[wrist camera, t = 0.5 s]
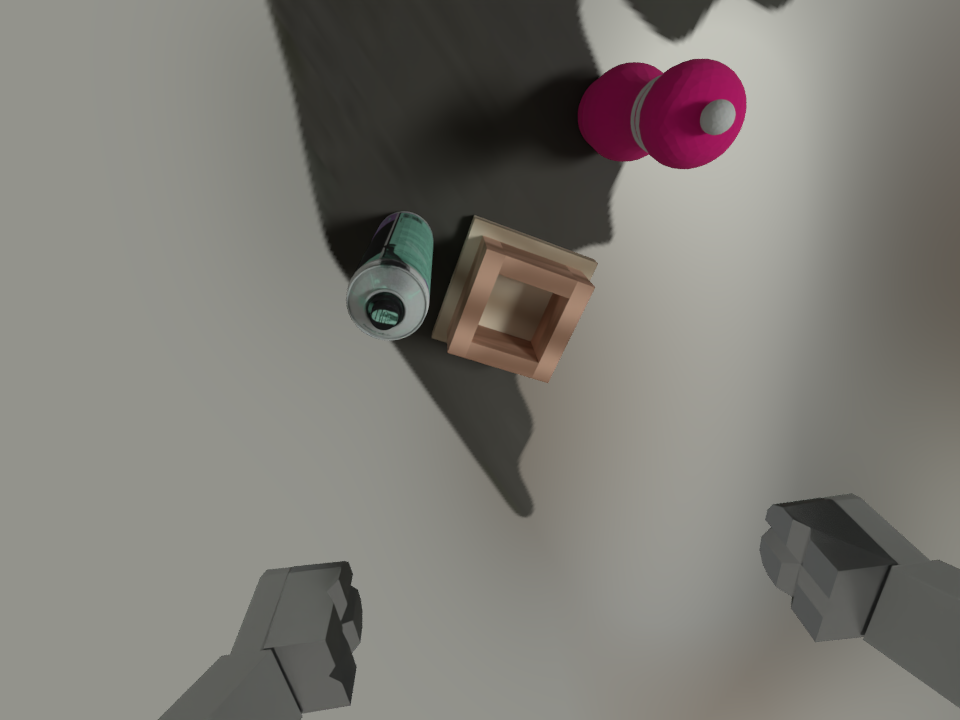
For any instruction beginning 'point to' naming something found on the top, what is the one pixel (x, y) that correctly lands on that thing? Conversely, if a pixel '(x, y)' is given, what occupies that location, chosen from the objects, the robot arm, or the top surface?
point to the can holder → (513, 300)
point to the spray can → (393, 279)
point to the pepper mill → (664, 112)
